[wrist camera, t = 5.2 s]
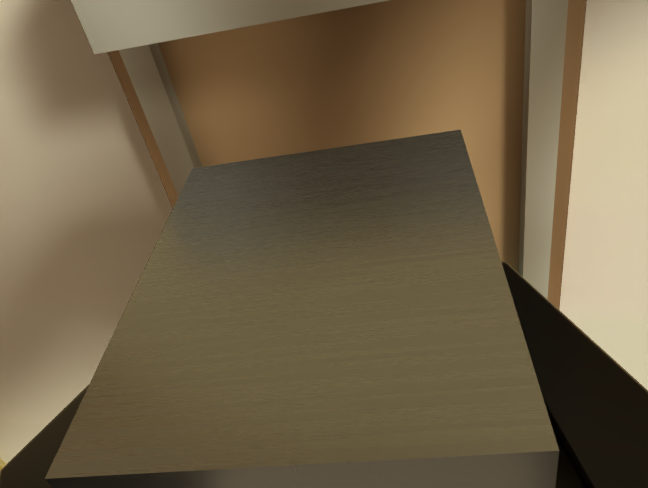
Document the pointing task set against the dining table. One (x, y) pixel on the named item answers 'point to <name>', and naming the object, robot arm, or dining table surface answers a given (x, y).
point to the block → (319, 336)
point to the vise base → (363, 92)
